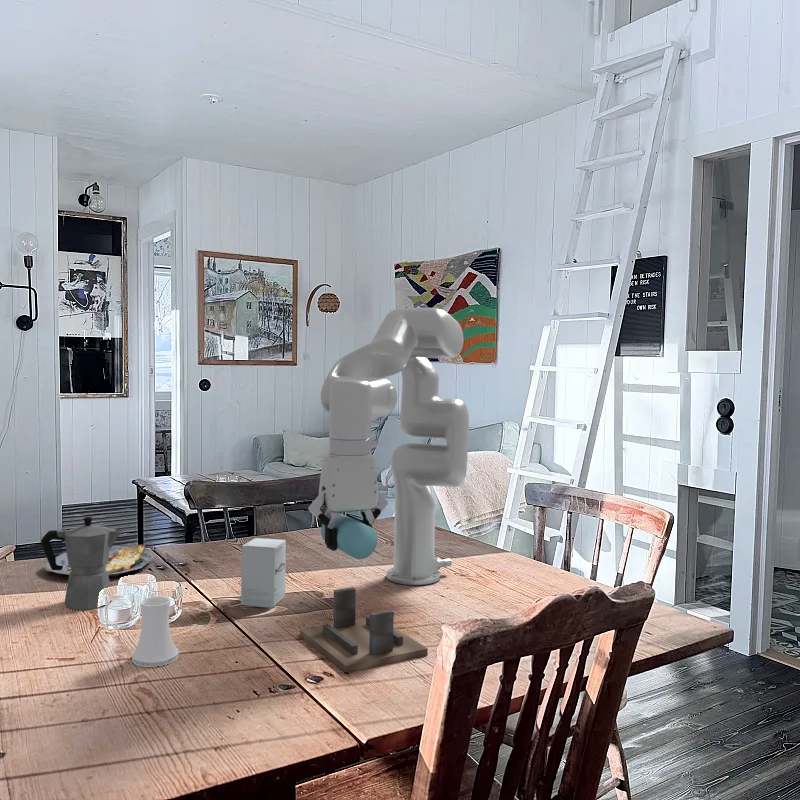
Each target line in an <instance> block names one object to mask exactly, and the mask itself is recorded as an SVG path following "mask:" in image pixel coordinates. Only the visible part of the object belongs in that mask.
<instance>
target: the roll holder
mask: <svg viewBox="0 0 800 800" xmlns="http://www.w3.org/2000/svg"><path fill="white" fill-rule="evenodd" d="M356 594H357V589H356V588H355V587H354V586H352V587H347V588H339V589H334V590H333V618H332V619H333V622H332V623H323V624H320V625H316V626H311V627H309V626H308V627H304V628H300V629H299V637H301V638H302V639H304V641H306V642H307V643H309V644H310V645H311V646H312V647H314V649H316V650H317V651H319V653H321V654H322V655H323V656H324V657H325V658H326V659H328V660H329V661H330V662H331V663H333V664H334V665H335V666H336V667H337V668H338V669H340V668H341V669H342V670H341V669H340V670H341V671H343V672H344V673H345V672H348V673H351V671H353V672H356V670H357V671H360V670H361V669H362V670H366V669H371V668H374V667H379V666H384V665H389V664H393V663H397V662H398V663H399V662H402V661H406V660H412V659H416V658H420V657H425V656H428V650H429V649H428V647H427V646H424V644H421V643H420V642H418V641H416V640H415V639H414V638H412V637H411V636H409V635H407V634H406V633H404V632H403V631H401V630H399V629H397V628H396V627H394V610H392V609H386V610H385V609H384V610H380V611H374V612H373V611H372V612H370V613H369V615H368V616H364V617H358V618H356V611H357V610H356V609H357V606H356V605H357V603H356V602H357V599H356V598H357V597H356V596H357V595H356ZM362 670H361V671H362Z"/></svg>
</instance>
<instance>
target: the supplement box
mask: <svg viewBox="0 0 800 800" xmlns="http://www.w3.org/2000/svg"><path fill="white" fill-rule="evenodd" d="M286 544H287V540H286V539H280V538H279V539H276V538H259V537H255V538H253V539H251V540H250V541H248V542H246V543H245V544H243V545H241V571H240V572H241V573H240V574H241V577H240V578H241V581H240V582H241V583H240V584H241V585H240V587H241V588H240V601H241V602H240V605H241V606H246V607H247V606H248V607H257V606H258V607H260V608H267V609H268V608H270V609H271V608H272V609H273V608H275V607H276V606H277V605H278V603H280V602H281V601H282V600H284V599H285V598H286V567H287V566H286V565H287V564H286V563H287V562H286V559H287V557H286V556H287V555H286V553H287V552H286V551H287V550H286V548H287V545H286Z"/></svg>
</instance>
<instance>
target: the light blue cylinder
mask: <svg viewBox="0 0 800 800" xmlns="http://www.w3.org/2000/svg"><path fill="white" fill-rule="evenodd" d="M361 522H362V521H358V520H356V519H354V518H352V517H350V516H347V515H345V514H343V513H342V512H341V513H339V515H338V518H337V521H336V524H335V528H336V529H337V550H339V551H342V552H343V553H345V554H347V555H348V556H350V557H351V558H354V559H357V560H365V559H366V558H368V557H370V556H371V555H372V554H373V553H374V552H375V550H376V548H377V545H378V536H377V533H376V531H375V529H373V527H372V528H371V527H370V526H367V525H365V524H363V523H361ZM320 533H321V537H322V539H323V541H325V526H324V525H323V524H322V523H321V526H320Z"/></svg>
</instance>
